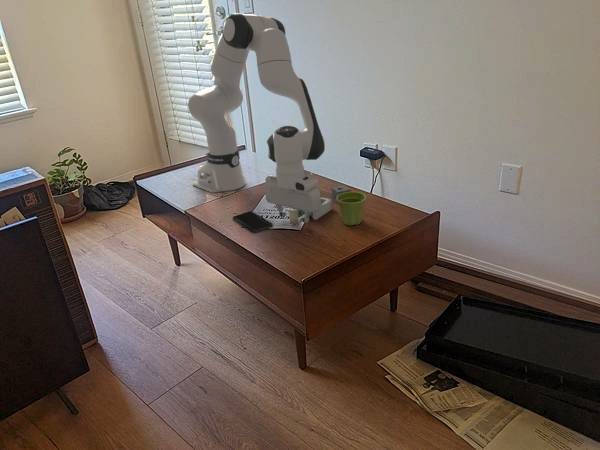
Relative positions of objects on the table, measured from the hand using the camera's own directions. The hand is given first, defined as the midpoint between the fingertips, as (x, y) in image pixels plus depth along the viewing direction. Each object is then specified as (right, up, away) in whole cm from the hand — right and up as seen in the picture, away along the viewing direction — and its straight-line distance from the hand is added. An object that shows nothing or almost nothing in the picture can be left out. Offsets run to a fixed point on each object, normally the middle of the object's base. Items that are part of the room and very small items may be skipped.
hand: (294, 219), depth 159 cm
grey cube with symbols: (+17, +6, +15) cm, 23 cm away
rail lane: (+6, +3, +8) cm, 11 cm away
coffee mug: (+3, +8, +20) cm, 21 cm away
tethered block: (+3, +1, +5) cm, 6 cm away
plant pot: (+19, -1, -1) cm, 19 cm away
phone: (-14, -2, +4) cm, 15 cm away
